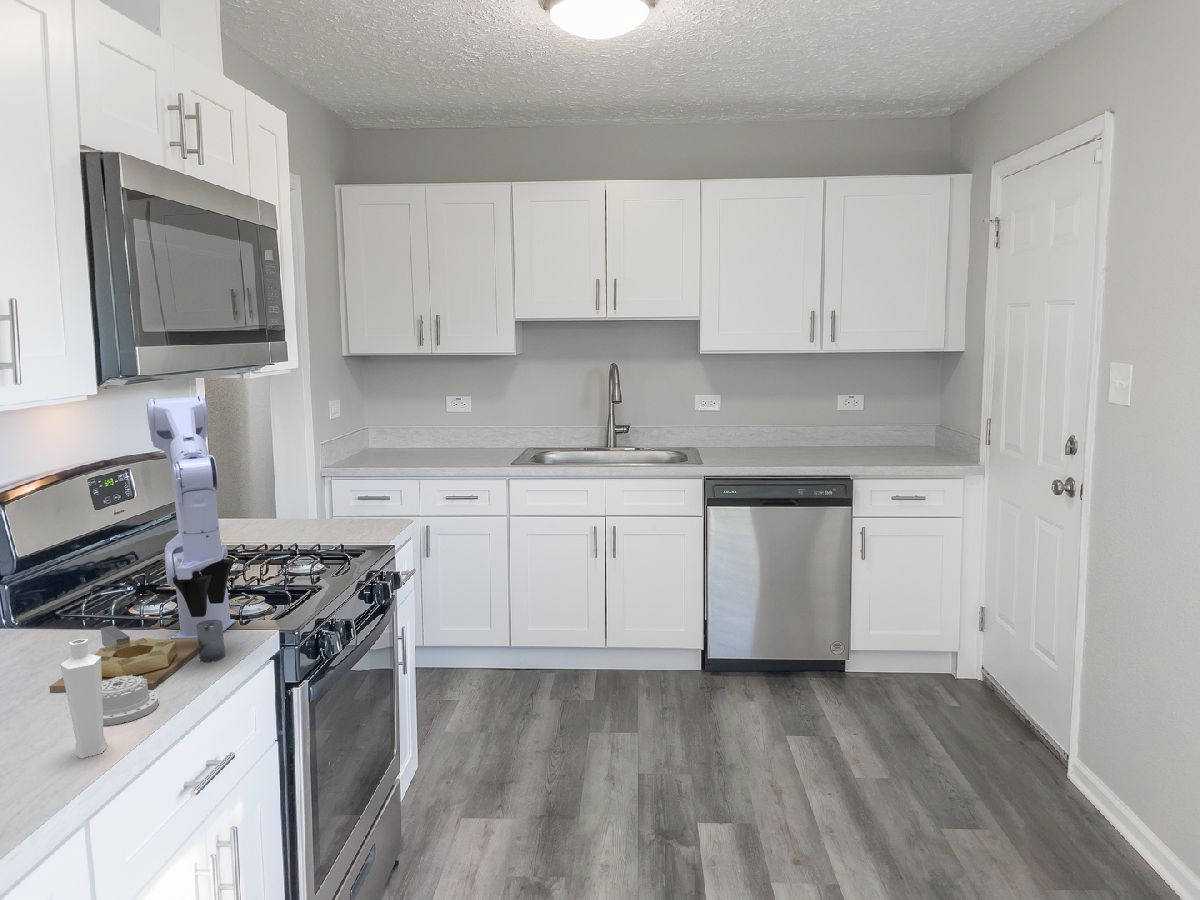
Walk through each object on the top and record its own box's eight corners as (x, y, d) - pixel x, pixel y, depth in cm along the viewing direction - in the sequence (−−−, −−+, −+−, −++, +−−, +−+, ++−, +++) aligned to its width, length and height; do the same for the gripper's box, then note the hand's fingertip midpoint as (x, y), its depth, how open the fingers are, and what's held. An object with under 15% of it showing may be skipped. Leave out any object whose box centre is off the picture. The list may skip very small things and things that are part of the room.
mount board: (119, 646, 157) (118, 640, 157) (209, 643, 157) (209, 637, 156) (50, 692, 137) (49, 685, 137) (153, 689, 137) (152, 682, 137)
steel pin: (206, 653, 152) (202, 620, 151) (229, 653, 152) (226, 619, 151) (195, 662, 148) (192, 627, 147) (219, 661, 148) (216, 627, 147)
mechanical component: (92, 703, 133) (71, 732, 123) (89, 675, 132) (68, 702, 123) (165, 694, 135) (150, 722, 126) (162, 667, 135) (147, 692, 125)
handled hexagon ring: (189, 660, 145) (188, 642, 145) (99, 684, 136) (97, 666, 135) (149, 633, 159) (148, 617, 159) (65, 653, 150) (63, 636, 150)
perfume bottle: (117, 749, 117) (105, 640, 115) (80, 762, 114) (67, 649, 112) (104, 739, 120) (92, 632, 118) (68, 751, 117) (55, 642, 115)
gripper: (196, 521, 154) (203, 597, 156) (154, 541, 139) (162, 624, 141) (236, 520, 154) (243, 595, 156) (199, 540, 139) (207, 623, 141)
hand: (207, 609), depth 148 cm, fingers open, 6 cm apart
